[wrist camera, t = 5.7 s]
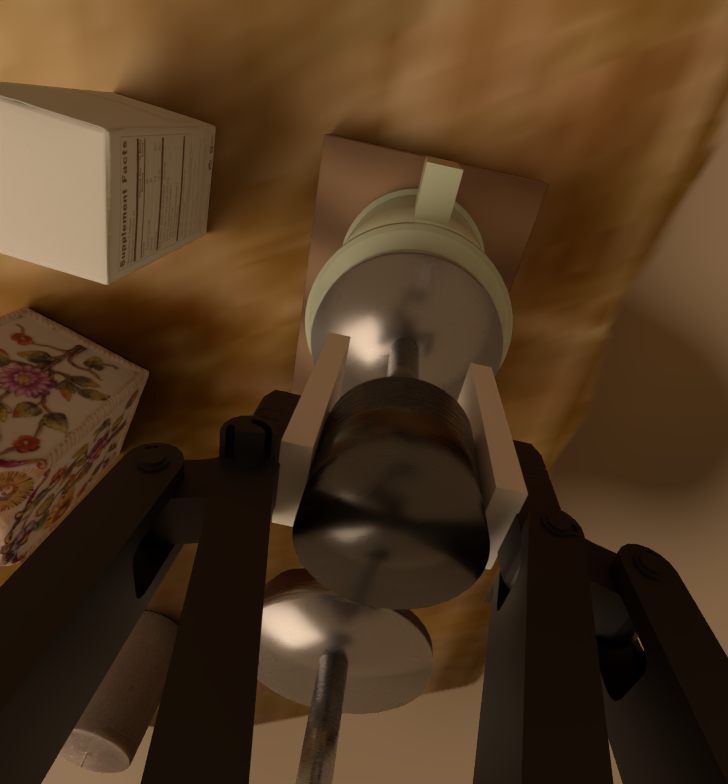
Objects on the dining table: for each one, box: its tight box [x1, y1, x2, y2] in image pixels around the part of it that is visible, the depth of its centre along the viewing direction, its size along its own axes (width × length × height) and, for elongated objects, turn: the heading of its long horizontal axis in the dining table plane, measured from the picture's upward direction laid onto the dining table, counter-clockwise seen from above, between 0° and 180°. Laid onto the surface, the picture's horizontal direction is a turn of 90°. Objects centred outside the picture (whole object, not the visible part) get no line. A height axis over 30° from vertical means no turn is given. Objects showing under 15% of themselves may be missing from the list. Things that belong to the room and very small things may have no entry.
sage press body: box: [305, 156, 513, 369], centre depth 26 cm, size 12×10×12 cm
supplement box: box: [0, 82, 216, 285], centre depth 26 cm, size 7×7×13 cm
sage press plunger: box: [293, 249, 503, 609], centre depth 15 cm, size 8×8×11 cm
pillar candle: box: [58, 610, 179, 773], centre depth 55 cm, size 10×10×15 cm
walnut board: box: [292, 134, 548, 395], centre depth 35 cm, size 24×14×2 cm, turn 169°
